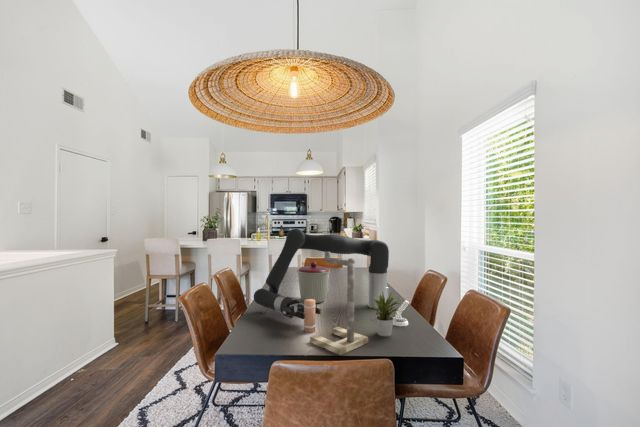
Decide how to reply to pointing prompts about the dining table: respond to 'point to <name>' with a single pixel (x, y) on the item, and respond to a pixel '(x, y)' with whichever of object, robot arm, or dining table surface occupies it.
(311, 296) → the canister
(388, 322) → the house plant
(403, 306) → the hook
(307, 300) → the orange cylindrical bottle
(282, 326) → the dining table surface
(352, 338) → the wooden gallows stand
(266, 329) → the dining table surface
